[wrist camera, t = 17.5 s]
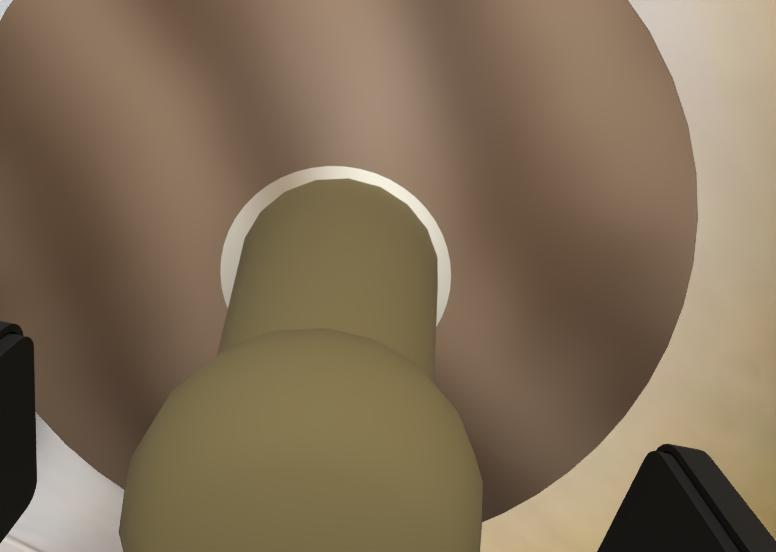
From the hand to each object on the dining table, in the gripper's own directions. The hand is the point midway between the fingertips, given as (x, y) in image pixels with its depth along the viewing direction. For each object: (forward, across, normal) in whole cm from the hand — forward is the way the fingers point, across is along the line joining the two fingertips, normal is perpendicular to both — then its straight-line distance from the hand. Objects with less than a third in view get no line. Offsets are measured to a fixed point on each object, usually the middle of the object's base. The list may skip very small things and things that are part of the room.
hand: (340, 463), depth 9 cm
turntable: (+10, +1, +1) cm, 10 cm away
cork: (+9, 0, +1) cm, 9 cm away
